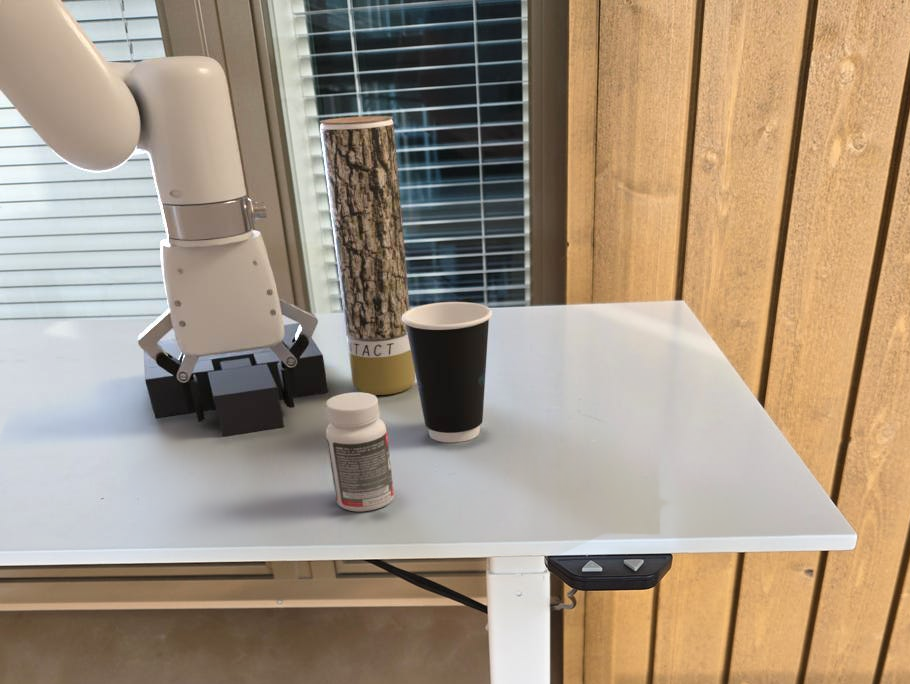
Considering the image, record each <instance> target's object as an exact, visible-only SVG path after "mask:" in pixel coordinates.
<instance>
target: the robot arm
mask: <svg viewBox="0 0 910 684" xmlns="http://www.w3.org/2000/svg"><path fill="white" fill-rule="evenodd" d="M0 92H1V93H2V94H3V95H4V96H5V98H6V99H7V100H8V101H9V102H10V104H11V105H12V107H14V108H15V110H16V111H17V112H18V113H19V114H20V115H21V116H22V118H23V119H24V120H25V122H26V123H27V124H28V125H29V126H30V127H31V129H32V130H33V131H34V132H35V133H36V134H37V136H38V137H39V138H40V139H41V140H42V141H43V142H44V143H45V145H46V146H47V147H48V148H49V150H51V151H52V152H53V153H54V154H55V155H56V156H58V157H59V158H60V159H61V160H63V161H64V162H66V163H67V164H68V165H71V166H73V167H74V168H77V169H80V170H83V171H87V172H91V173H103V172H109V171H112V170H115V169H117V168H119V167H121V166H122V165H124V164H125V163H126V162H127V161H128V160H130V159H131V157H132V156H134V155H140V154H141V155H142V154H145V153H146V154H147V155H148V158H149V161H150V166H151V170H152V175H153V179H154V184H155V189H156V192H157V197H158V202H159V205H160V210H161V215H162V219H163V224H164V227H165V232H166V237H167V238H164V239H162V240H161V241H160V242H159V243H160V244H159V247H160V248H159V251H160V263H161V265H160V266H161V272H162V279H163V280H162V281H163V285H164V291H165V292H164V293H165V297H166V302H167V308H168V309H166V311H165V312H164V313H163V314H161V315H160V316H159V317H158V318H157V319H155V321H154V322H153V323H151V324H150V325H149V326H148V327H146V329H145V330H144V331H143V332H142V333H140V334H139V335H138V337H137V344H138V346H139V348H141V349H142V350H143V352H144V351H145V352H146V353H147V354H148V355H149V356H150V357H151V358H152V359H153V360H154V361H155V362H156V363H157V364H158V365H159V366H160V367H161V368H163V369H164V370H166V371H167V372H169V373H170V374H172V375H173V376H175V377H176V378H177V379H178V380H179V381H180V382H182V387H183V391H184V395H185V399H186V404H187V408H188V412H191V411H196V412H195V414H196V419H197V422H198V423H200V422H201V423H202V422H204V420H206V417H205V413H204V412H205V411H203V407H202V402H201V398H200V393H199V389H198V385H197V380H196V376H195V375H193V370H194V368H195V365H196V363H197V361H198V358H199V357H201V356H210V355H218V354H226V353H234V352H241V351H249V350H256V349H263V348H268V347H269V348H270V349H271V350H272V351H273V352H274V353H275V354H276V355H277V356H278V357H279V363H277V365H278V371H279V376H280V382H281V388H282V394H283V399H282V400H283V402H284V404H285V407H286V408H289V409H293V408H294V409H295V402H294V398H295V397H294V396H299V393H298V386H297V380H296V374H295V368H294V367H295V366H296V364H297V360H298V359H299V358H300V356H301V355H302V354H303V352H304V351H305V350H306V348H307V347H308V345H309V341H310V339H311V337H312V338H313V335H314V332H315V330H316V328H317V326H318V324H319V320H318V318H317V317H316V315H315V314H314V313H312V312H310V311H309V310H306V309H304V308H302V307H301V306H298V305H297V304H294V303H292V302H290V301H289V300H286V299H284V298H282V297H280V296H279V293H278V289H277V285H276V280H275V276H274V272H273V270H272V269H273V268H272V265H271V263H270V259H269V255H268V250H267V247H266V244H265V241H264V238H263V235H262V233H261V231H259V230H254V224H256V221H257V222H258V221H259V220H260V219H267V208H266V205H265V202H264V201H258V202H256V200H252V199H251V198H249V197H248V196H247V190H246V185H245V179H244V172H243V167H242V161H241V154H240V149H239V143H238V137H237V131H236V126H235V120H234V115H233V108H232V104H231V98H230V90H229V86H228V80H227V76H226V73H225V71H224V69H223V67H222V65H221V64H220V63H219V62H218V61H217V60H216V59H214V58H213V57H209V56H205V55H204V56H203V55H180V56H179V55H178V56H177V55H175V56H161V57H150V58H146V59H142V60H140V61H138V62H118V61H107V59H106V58H105V57H104V55H102V53H101V51H100V50H99V49H98V48H97V46H96V45H95V43H94V42H93V41H92V40H91V39H90V37H89V36H88V34H87V33H86V32H85V31H84V29H83V28H82V27H81V25H80V24H79V23H78V21H77V20H76V18H75V17H74V15H73V14H72V13H71V11H69V9H68V8H67V6H66V5H65V4H64V3H63V1H62V0H0ZM283 316H284V317H285V318H288V319H290V320H292V321H295V322H296V323H299V324H300V326H299V328H298V332H297V333H296V334H295V336H294V337H293V339H292V340H291V341H290V343H289V344H288V345H286V344H285V343H284V342H283V339H284V325H285V324H284V319H283ZM170 331H173V334H174V335H173V336H174V338H175V339H176V341H177V344H178V347H179V349H180V351H181V355H180V357H179V359H176V358H175V357H173V356H172V355H170V354H169V353H168V352H166V351H164V350H163V349H162V348H161V346H160V345H159V344H158V341H161V339H163V338H164V337H165V336H166V335H167V334H168V333H169V332H170ZM299 397H300V396H299Z"/></svg>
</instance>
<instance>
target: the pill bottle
mask: <svg viewBox="0 0 910 684" xmlns="http://www.w3.org/2000/svg"><path fill="white" fill-rule="evenodd" d="M325 411H326V419H327V421H328V423H329V424H328V425H327V427H326V429H325V437H326V438H325V439H326V444H327V449H328V457H329V462H330V469H331V476H332V482H333V487H334V494H335V495H334V496H335V502H336V503H337V505H338V506H339V507H341V508H342V509H344V510H346V511H350V512H356V513H357V512H359V513H361V512H370V511H375V510H379V509H382V508H384V507H386V506H388V505H389V504H390V503H391V502H392V501H393V499H394V497H395V490H394V482H393V472H392V466H391V465H392V464H391V457H390V448H389V440H388V439H389V438H388V430H387V426H386V423H385V422H384V421H383V420H382V419H381V418H380V416H381V414H380V405H379V399H378V397H377V395H372V394H369V393H362V392H360V391H357V392H356V391H355V392H346V393H340V394H336V395H334V396H332V397H330V398H329V399H327V400H326V401H325Z"/></svg>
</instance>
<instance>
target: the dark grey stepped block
mask: <svg viewBox="0 0 910 684" xmlns="http://www.w3.org/2000/svg"><path fill="white" fill-rule="evenodd" d="M220 364H221V369H222V370H220V371H213V372H208V377H209V381H210V386H211V390H212V395H213V399H214V404H215V408H216V409H215V412H216V416H217V421H218V424H219V425H218V426H219V428H220V432H221V436H222V437H228V436H234V435H241V434H247V433H254V432H260V431H266V430H272V429H278V428H279V429H280V428H284V427H285V423H284V417H283V412H282V406H281V401H280V400H281V399H279V394H278V389H277V386H276V384H275V381H274V379H273V377H272V375H271V372H270V370H269V368H268V366H267V364H262V365H255V366H252V364H251V362H250V359H249V358H245V359H237V360H230V361H223V362H220Z"/></svg>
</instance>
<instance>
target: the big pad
mask: <svg viewBox="0 0 910 684" xmlns="http://www.w3.org/2000/svg"><path fill="white" fill-rule="evenodd" d="M299 326H300V324H299V323H298V322H296V323H290V324H284V339H283V342H284V343H285V344H286V345H288V344H289V343H290V341H291V340H292V339H293V337H294V336H295V334H296V333H297V332H298V328H299ZM158 344H159V345H160V346H161V348H162V349H163V350H164V351H166V352H168V353H169V354H170V355H172V356H173V357H175V358H176V359H179V357H180V355H181V351H180V349H179V347H178V344H177V341H176V338H175V339H174V338H173V339H167V340H159V341H158ZM245 358H249V359H250V362H251V364H252V366H255V365H262V364H267V366H268V368H269V370H270V372H271V375H272V377H273V379H274V381H275V384H276V386H277V389H278V394H279V400H284V399H283V394H282V388H281V382H280V376H279V371H278V365H277V363H279V357H278V356H277V355H276V354H275V353H274V352H273V351H272V350H271V349H270V348H269V347H268V348H263V349H256V350H249V351H241V352H234V353H226V354H218V355H210V356H201V357H199V358H198V361H197V363H196V365H195V368H194V370H193V375H195V376H196V380H197V385H198V389H199V393H200V398H201V402H202V407H203V411H204V412H205V411H211V410H212V411H213V410H216V408H215V404H214V399H213V395H212V390H211V386H210V381H209V377H208V372H213V371H220V370H222V369H221V364H220V362H223V361H230V360H237V359H245ZM143 363H144V365H143V366H144V381H145V384H146V388H147V392H148V396H149V400H150V403H151V408H152V411H153V415H154V418H155V419H158V418H166V417H172V416H179V415H185V414H193V413H196V411H191V412H188V408H187V404H186V399H185V395H184V391H183V387H182V382H180V381H179V380H178V379H177V378H176V377H175V376H173V375H172V374H170V373H169V372H167V371H166V370H164V369H163V368H161V367H160V366H159V365H158V364H157V363H156V362H155V361H154V360H153V359H152V358H151V357H150V356H149V355H148V354H147V353H146V352H145V351H144V350H143ZM294 368H295V374H296V380H297V386H298V393H299V396H294V397H293V398H298V397H304V396H305V397H306V396H311V395H318V394H325V393H329V388H328V381H327V373H326V366H325V359H324V354H323V353H322V352H321V350H320V349H319V347H318V345H317V343H316V342H315V340H314V339H313V336H312V337H311V339H310V341H309V345H308V347H307V348H306V350H305V351H304V352H303V354H302V355H301V356H300V358H299V359H298V360H297V364H296V366H295V367H294Z"/></svg>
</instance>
